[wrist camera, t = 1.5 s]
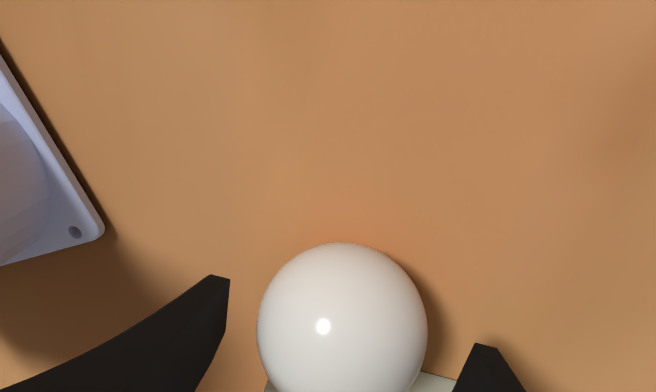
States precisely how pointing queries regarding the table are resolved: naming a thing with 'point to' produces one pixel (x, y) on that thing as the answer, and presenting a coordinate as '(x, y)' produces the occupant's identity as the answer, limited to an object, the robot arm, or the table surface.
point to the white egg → (341, 323)
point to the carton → (425, 388)
